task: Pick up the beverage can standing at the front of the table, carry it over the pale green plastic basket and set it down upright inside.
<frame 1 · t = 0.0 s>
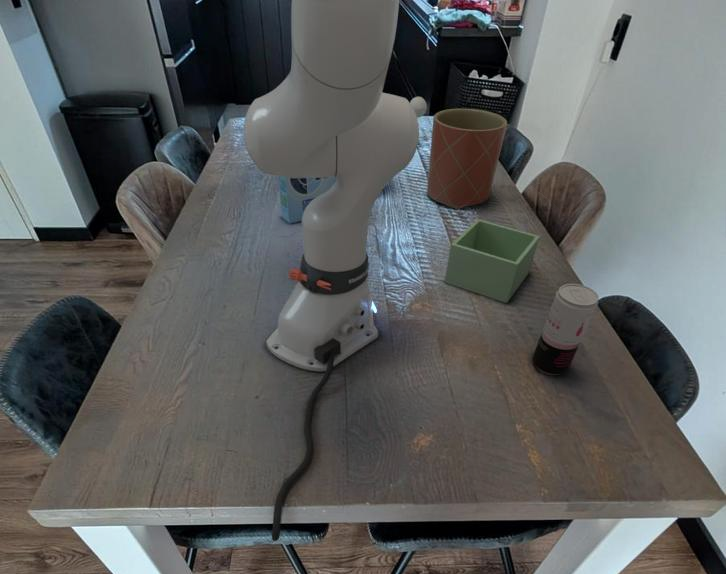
lollipop: (413, 147, 166), on the table
planter: (457, 197, 138), on the table
basket: (487, 277, 108), on the table
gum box: (317, 213, 128), on the table
beverage can: (549, 365, 87), on the table
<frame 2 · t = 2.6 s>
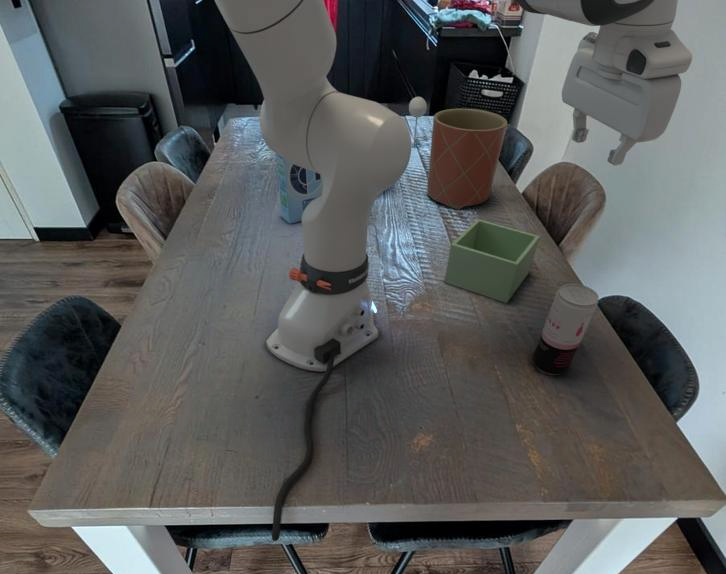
hand: (595, 151, 76), 31 cm above the table, tool pointing down, fingers open, 8 cm apart
nothing on the table moved.
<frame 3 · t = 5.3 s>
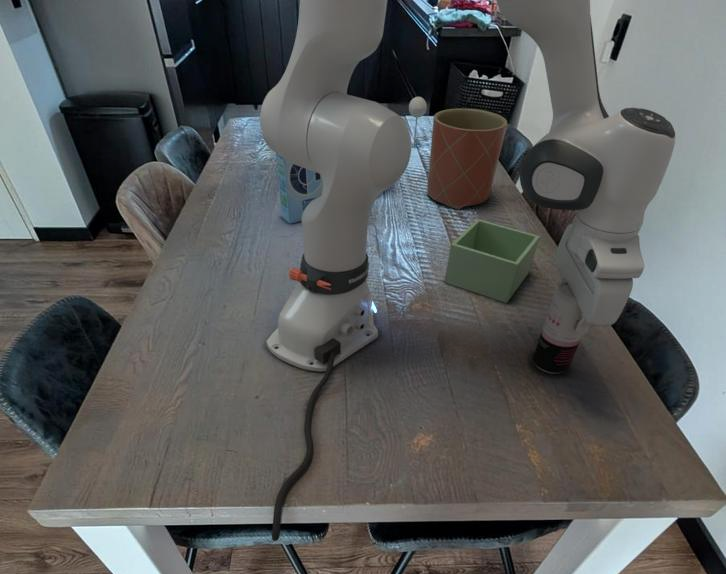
hand: (571, 314, 81), 10 cm above the table, tool pointing down, fingers open, 8 cm apart
nothing on the table moved.
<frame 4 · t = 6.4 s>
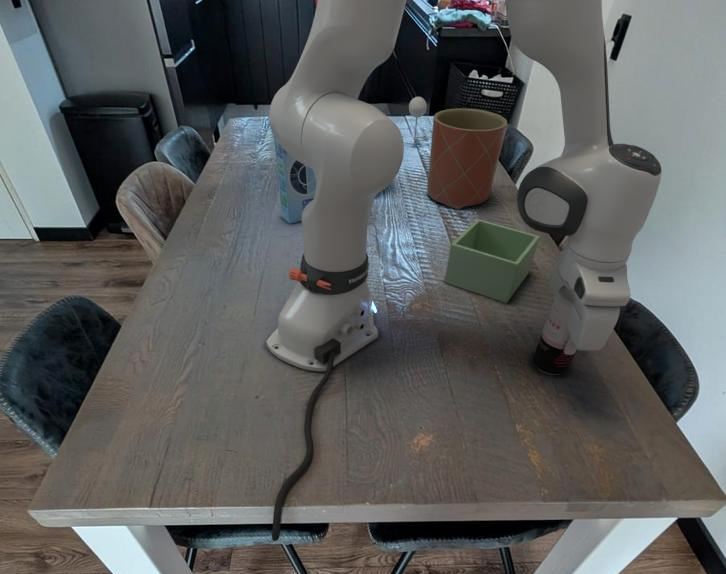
hand: (562, 337, 83), 6 cm above the table, tool pointing down, fingers closed on beverage can, 6 cm apart
beverage can: (549, 365, 87), on the table, touching gripper
everything else where it was.
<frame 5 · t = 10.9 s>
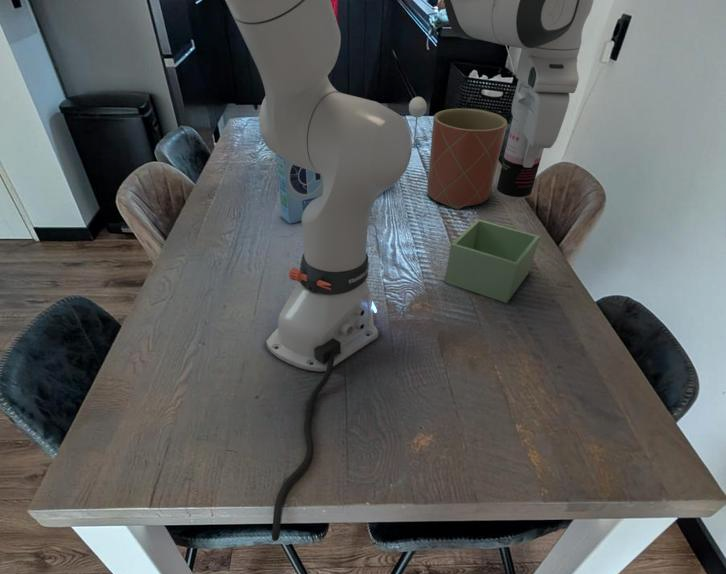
hand: (522, 158, 87), 26 cm above the table, tool pointing down, fingers closed on beverage can, 6 cm apart
beverage can: (513, 193, 92), point 20 cm above the table, touching gripper
everything else where it was.
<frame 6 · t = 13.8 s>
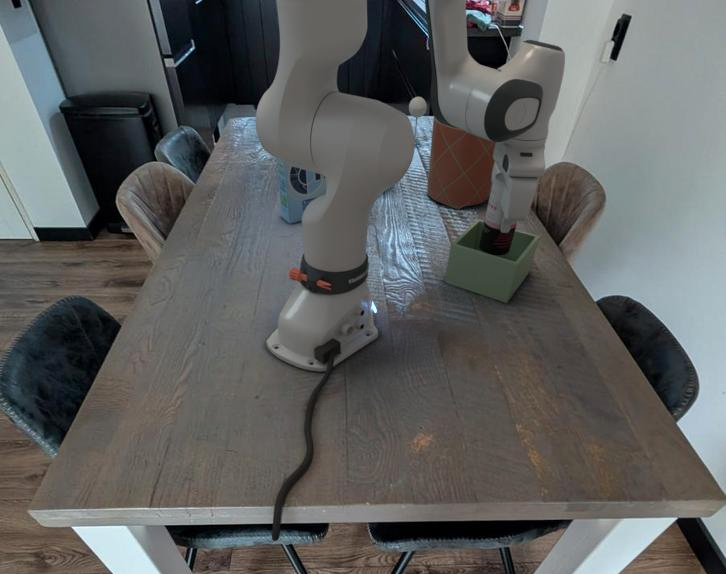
hand: (500, 222, 98), 13 cm above the table, tool pointing down, fingers closed on beverage can, 6 cm apart
beverage can: (493, 250, 103), point 6 cm above the table, touching gripper
everything else where it was.
when the fingers open (7 cm above the table, at t = 15.9 s): beverage can stays where it is, resting on basket.
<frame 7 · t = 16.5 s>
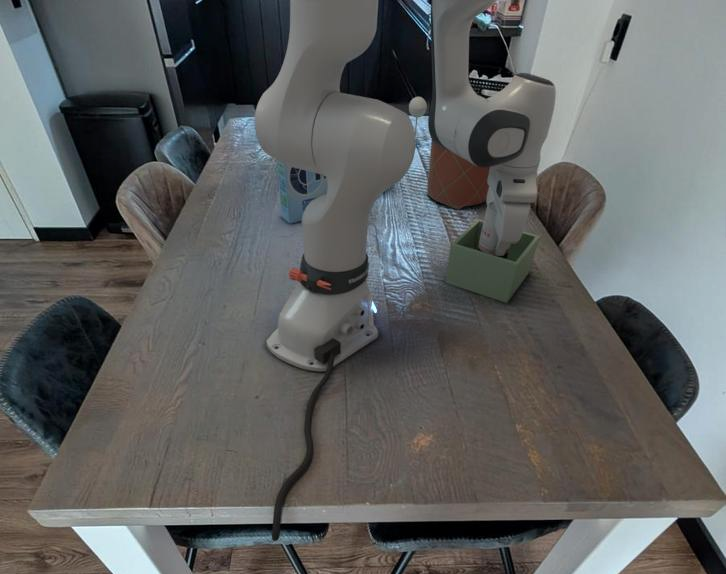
hand: (495, 243, 101), 8 cm above the table, tool pointing down, fingers open, 8 cm apart
beverage can: (487, 274, 107), point 1 cm above the table, touching basket
everything else where it was.
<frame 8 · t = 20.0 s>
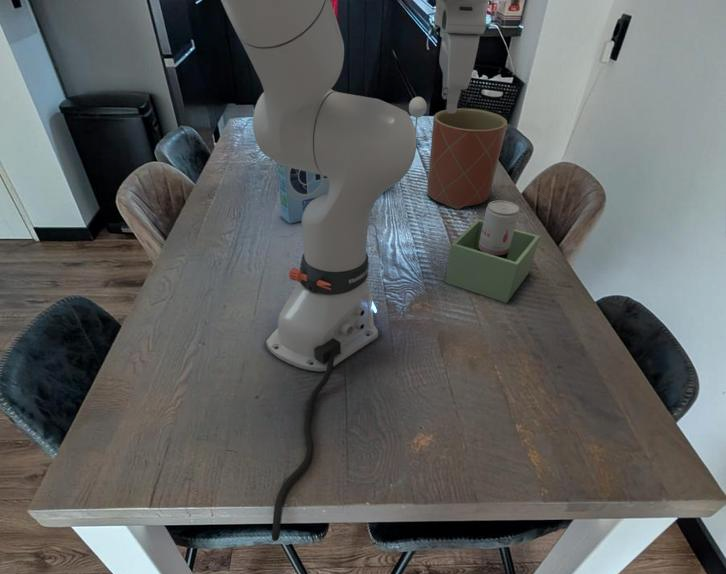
hand: (448, 105, 92), 31 cm above the table, tool pointing down, fingers open, 8 cm apart
nothing on the table moved.
at the end: beverage can inside the target area in the basket (0.2 cm from its centre), point 0.8 cm above the basket's base; beverage can tilted 0°; the gripper is holding nothing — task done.
